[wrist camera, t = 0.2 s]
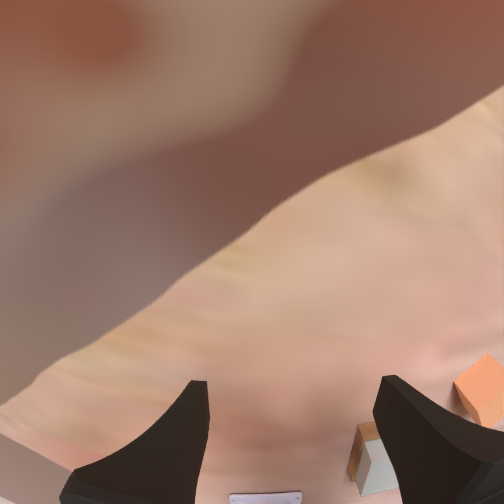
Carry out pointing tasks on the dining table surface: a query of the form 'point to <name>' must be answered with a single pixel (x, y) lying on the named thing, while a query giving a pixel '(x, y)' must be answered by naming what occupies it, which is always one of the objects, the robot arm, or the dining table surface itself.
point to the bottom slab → (361, 446)
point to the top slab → (375, 470)
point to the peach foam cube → (483, 391)
